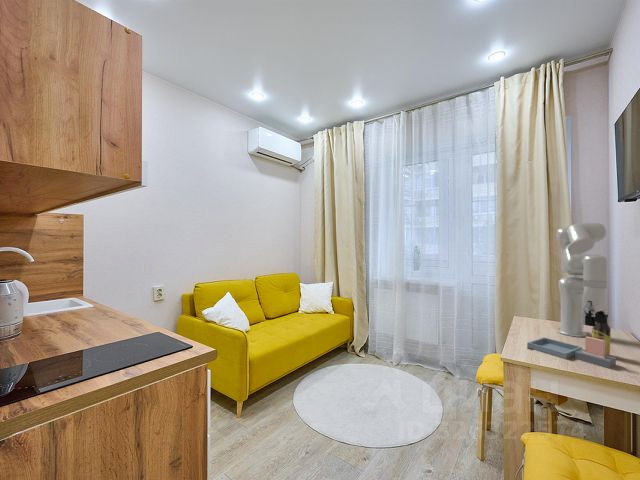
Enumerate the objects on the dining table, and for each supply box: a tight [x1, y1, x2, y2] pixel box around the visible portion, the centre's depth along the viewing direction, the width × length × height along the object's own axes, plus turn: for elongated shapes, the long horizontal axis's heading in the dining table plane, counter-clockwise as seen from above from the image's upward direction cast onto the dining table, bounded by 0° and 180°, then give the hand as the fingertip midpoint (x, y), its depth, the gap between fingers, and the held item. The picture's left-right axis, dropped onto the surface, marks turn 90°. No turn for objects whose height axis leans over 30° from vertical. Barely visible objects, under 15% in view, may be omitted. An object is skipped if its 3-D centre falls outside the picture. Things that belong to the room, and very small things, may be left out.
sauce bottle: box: [591, 312, 612, 356], centre depth 134 cm, size 6×6×20 cm
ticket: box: [584, 335, 605, 357], centre depth 126 cm, size 2×6×10 cm, turn 28°
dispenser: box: [574, 348, 617, 369], centre depth 126 cm, size 7×11×4 cm, turn 28°
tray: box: [526, 336, 583, 360], centre depth 139 cm, size 16×16×3 cm
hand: (595, 324), depth 126 cm, fingers open, 9 cm apart
